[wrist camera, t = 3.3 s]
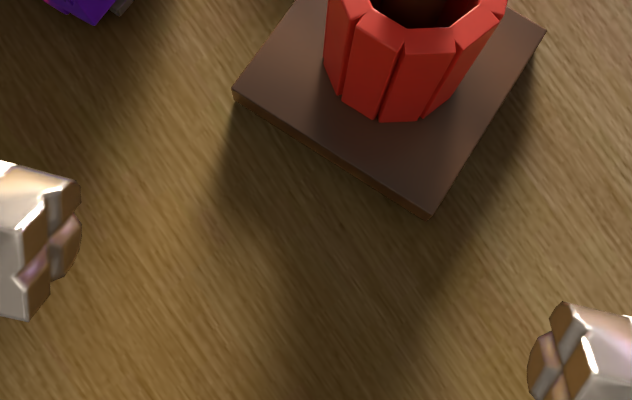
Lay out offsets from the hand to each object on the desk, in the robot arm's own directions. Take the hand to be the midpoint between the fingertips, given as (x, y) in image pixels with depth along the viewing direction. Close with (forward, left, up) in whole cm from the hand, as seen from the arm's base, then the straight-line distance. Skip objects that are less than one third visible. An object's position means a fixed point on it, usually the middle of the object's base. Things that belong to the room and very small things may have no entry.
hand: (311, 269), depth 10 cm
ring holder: (+12, +3, -18) cm, 21 cm away
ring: (+12, +3, -16) cm, 20 cm away
